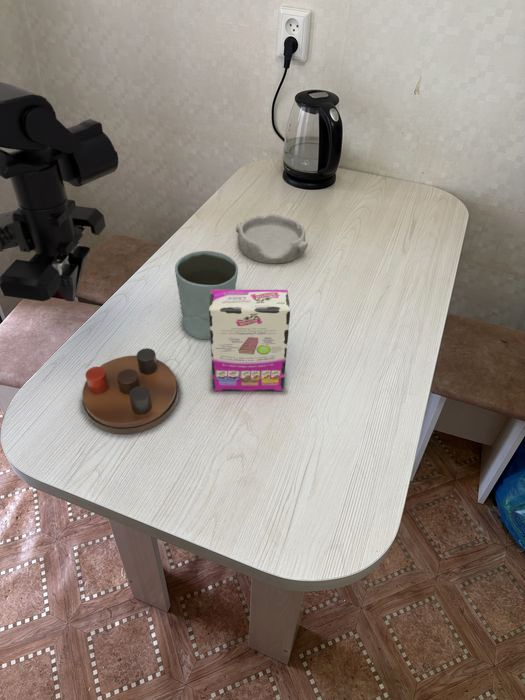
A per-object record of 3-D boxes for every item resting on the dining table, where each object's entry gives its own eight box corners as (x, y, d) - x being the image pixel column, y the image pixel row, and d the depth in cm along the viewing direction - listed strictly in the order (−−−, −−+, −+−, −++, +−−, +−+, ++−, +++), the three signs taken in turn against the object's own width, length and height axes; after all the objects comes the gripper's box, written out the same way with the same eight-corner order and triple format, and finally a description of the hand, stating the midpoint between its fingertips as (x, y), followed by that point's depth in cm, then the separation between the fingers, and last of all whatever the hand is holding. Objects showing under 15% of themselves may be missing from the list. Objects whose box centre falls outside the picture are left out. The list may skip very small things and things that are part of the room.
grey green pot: (171, 314, 91) (165, 258, 83) (222, 299, 95) (221, 244, 87) (193, 349, 85) (189, 292, 77) (247, 332, 89) (248, 276, 80)
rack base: (86, 443, 70) (84, 438, 70) (82, 373, 80) (80, 367, 79) (186, 423, 74) (185, 418, 73) (170, 357, 83) (169, 352, 82)
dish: (313, 260, 106) (316, 240, 102) (252, 272, 102) (252, 251, 98) (286, 226, 115) (287, 206, 112) (228, 236, 111) (228, 216, 108)
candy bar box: (281, 369, 82) (289, 288, 71) (283, 392, 79) (292, 310, 68) (213, 368, 82) (210, 287, 71) (211, 391, 78) (208, 309, 67)
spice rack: (172, 427, 71) (170, 409, 69) (74, 428, 71) (68, 410, 68) (179, 359, 81) (177, 341, 78) (93, 359, 80) (88, 341, 78)
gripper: (18, 160, 69) (47, 257, 80) (-67, 229, 56) (-19, 334, 67) (96, 169, 68) (115, 266, 79) (28, 242, 55) (62, 346, 66)
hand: (70, 299), depth 73 cm, fingers closed
